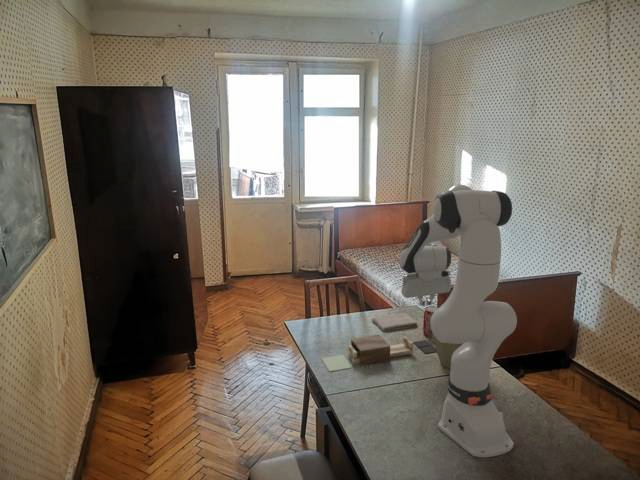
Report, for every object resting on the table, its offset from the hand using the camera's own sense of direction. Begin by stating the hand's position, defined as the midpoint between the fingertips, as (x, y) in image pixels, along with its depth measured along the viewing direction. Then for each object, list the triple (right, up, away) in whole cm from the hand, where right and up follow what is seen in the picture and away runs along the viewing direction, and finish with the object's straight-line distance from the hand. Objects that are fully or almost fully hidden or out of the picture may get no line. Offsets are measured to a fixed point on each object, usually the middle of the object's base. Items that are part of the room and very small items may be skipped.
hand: (425, 304), depth 183 cm
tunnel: (-22, -20, -2) cm, 30 cm away
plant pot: (+8, -22, -7) cm, 24 cm away
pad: (-36, -22, -6) cm, 42 cm away
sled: (-18, -20, -1) cm, 27 cm away
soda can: (+6, -15, +17) cm, 24 cm away
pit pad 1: (+1, -18, +9) cm, 19 cm away
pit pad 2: (+2, -19, +3) cm, 19 cm away
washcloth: (-8, -13, +28) cm, 32 cm away
